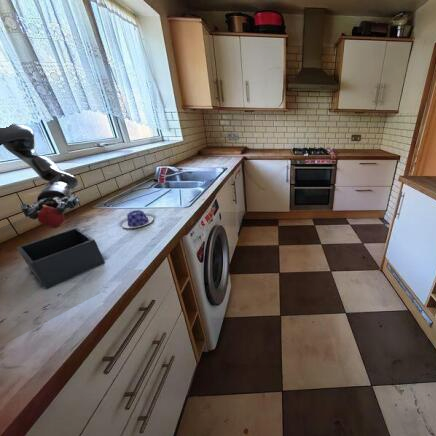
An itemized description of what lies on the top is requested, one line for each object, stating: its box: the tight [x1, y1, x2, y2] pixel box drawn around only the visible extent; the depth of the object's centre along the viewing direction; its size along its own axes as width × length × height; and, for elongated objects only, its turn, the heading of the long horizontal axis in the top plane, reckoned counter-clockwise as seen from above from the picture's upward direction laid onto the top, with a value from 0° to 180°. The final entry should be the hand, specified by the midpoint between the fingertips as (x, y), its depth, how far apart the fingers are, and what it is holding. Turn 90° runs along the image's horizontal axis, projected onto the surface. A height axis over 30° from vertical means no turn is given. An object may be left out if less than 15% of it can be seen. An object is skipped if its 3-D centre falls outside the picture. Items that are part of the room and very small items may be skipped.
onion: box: [37, 205, 66, 229], centre depth 72 cm, size 6×6×8 cm
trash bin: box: [16, 227, 106, 290], centre depth 72 cm, size 15×15×9 cm
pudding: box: [121, 209, 154, 229], centre depth 100 cm, size 12×12×5 cm
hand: (46, 213), depth 69 cm, fingers closed on onion, 5 cm apart
